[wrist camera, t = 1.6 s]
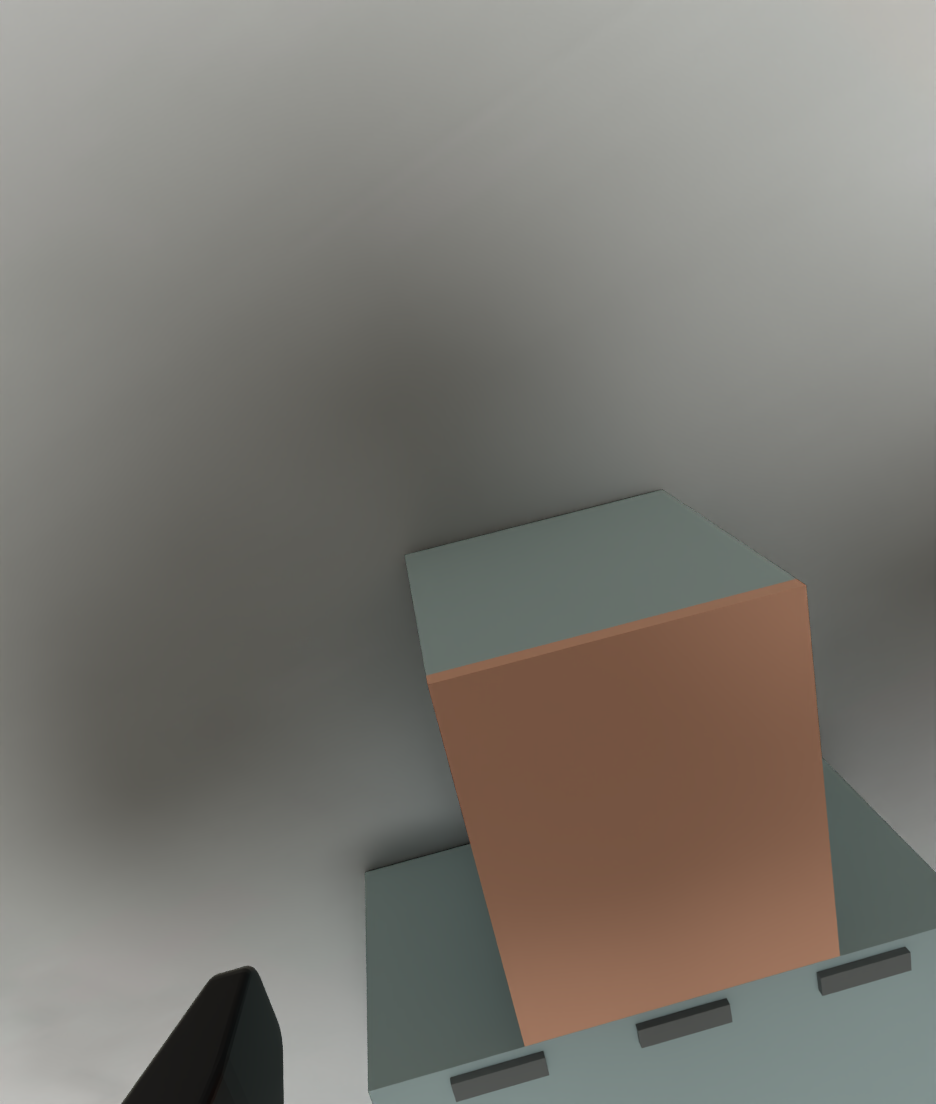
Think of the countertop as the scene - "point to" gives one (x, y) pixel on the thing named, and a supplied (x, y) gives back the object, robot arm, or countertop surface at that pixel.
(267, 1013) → the robot arm
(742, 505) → the countertop surface
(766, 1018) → the teal block with bar
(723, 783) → the teal and orange block
